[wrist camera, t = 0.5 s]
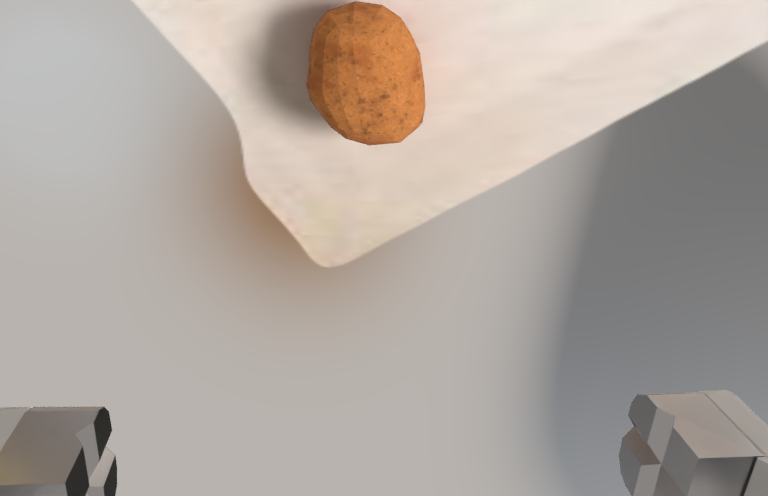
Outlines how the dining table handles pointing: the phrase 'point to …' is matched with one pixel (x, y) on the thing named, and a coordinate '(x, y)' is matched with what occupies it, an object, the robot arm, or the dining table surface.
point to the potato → (366, 74)
